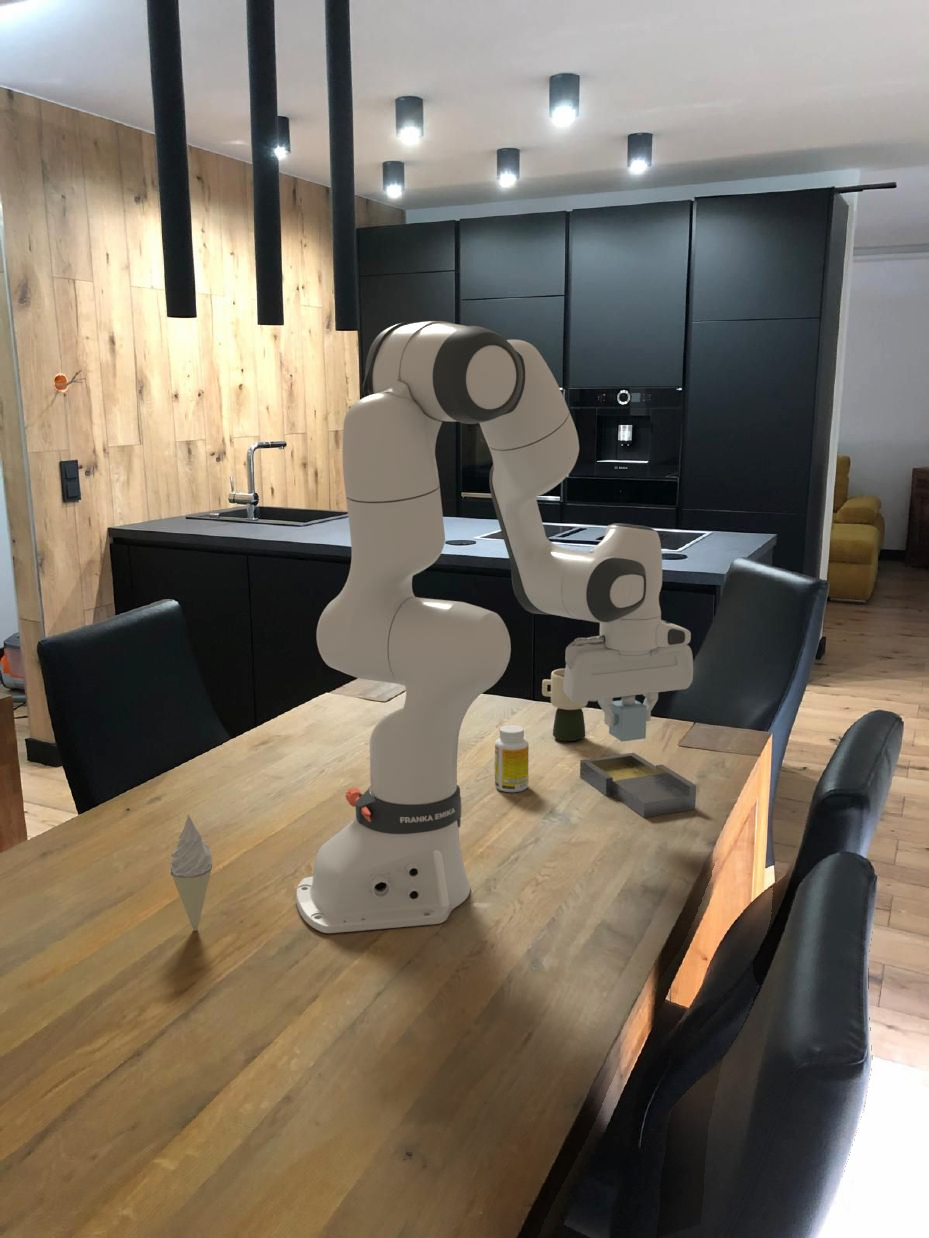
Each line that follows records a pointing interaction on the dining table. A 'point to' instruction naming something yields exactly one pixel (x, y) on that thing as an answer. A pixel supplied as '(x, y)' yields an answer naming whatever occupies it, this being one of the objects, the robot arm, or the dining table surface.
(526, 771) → the supplement bottle
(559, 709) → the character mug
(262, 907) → the dining table surface
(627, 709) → the light blue tall block
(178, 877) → the ice cream cone
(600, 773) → the rail
